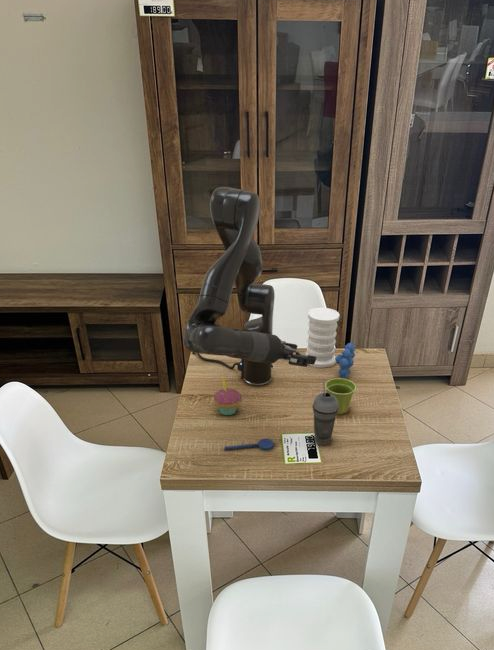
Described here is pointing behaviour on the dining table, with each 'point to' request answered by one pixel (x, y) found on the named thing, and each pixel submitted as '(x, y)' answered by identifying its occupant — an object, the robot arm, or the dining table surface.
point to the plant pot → (341, 392)
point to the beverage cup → (324, 416)
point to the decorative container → (322, 336)
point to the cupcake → (227, 399)
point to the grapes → (346, 360)
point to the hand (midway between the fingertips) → (305, 354)
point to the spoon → (255, 445)
